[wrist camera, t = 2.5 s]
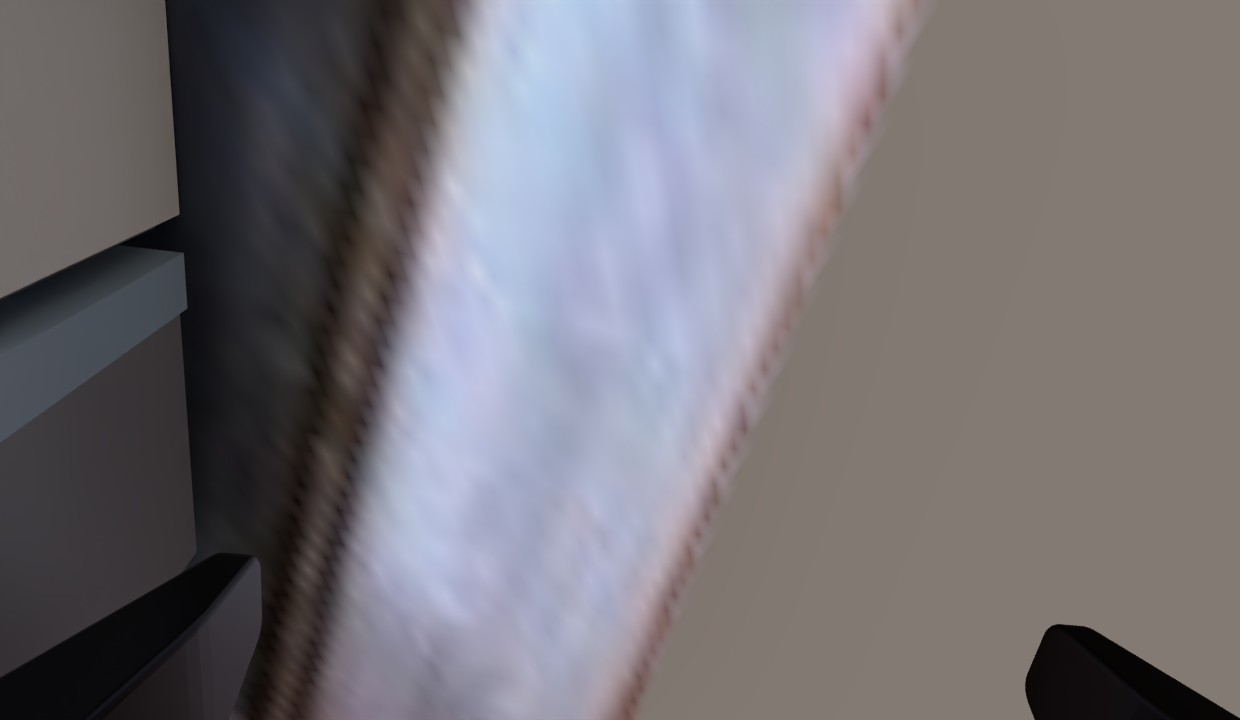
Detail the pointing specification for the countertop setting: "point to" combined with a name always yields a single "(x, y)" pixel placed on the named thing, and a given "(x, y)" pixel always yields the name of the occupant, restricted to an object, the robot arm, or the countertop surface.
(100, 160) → the camera housing
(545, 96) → the countertop surface
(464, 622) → the countertop surface
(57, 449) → the grey l-shaped block
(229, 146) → the countertop surface
